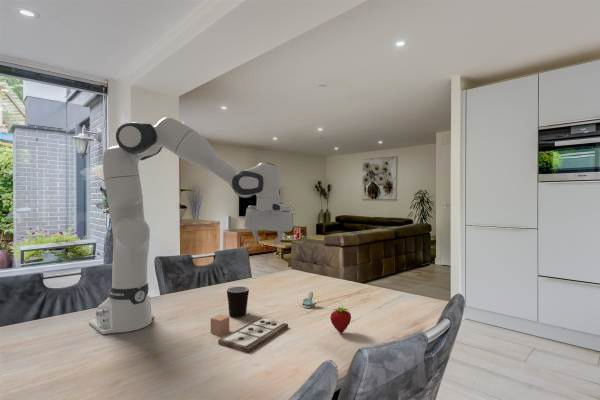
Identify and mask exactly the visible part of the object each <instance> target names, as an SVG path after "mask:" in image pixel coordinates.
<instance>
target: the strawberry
mask: <svg viewBox="0 0 600 400" xmlns="http://www.w3.org/2000/svg"><path fill="white" fill-rule="evenodd" d="M339 303H340V305H341V307H340V306H337V307H338V308H337V309H333V311H332V313H330V318H329V319H330V322H331V324H332V325H333V327H334V328H335V330H336V331H337V332H338V333H339V334H343V333H344V332H345V330H346V329H348V326H349V325H350V323H351V319H352V315H351V312H350V311H349V308H344V306H343V305H342V303H341V302H339Z"/></svg>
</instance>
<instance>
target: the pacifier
mask: <svg viewBox="0 0 600 400" xmlns="http://www.w3.org/2000/svg"><path fill="white" fill-rule="evenodd" d="M313 297H314V292H313V291H310V290H309V292H308V295H307V297H306V298H304V299H303V301H302V303H301V304H300V306H301V307H302V308H304V309H312V308H314V307H313V306H315V305H317V304H318V303H317V302H313Z"/></svg>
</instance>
